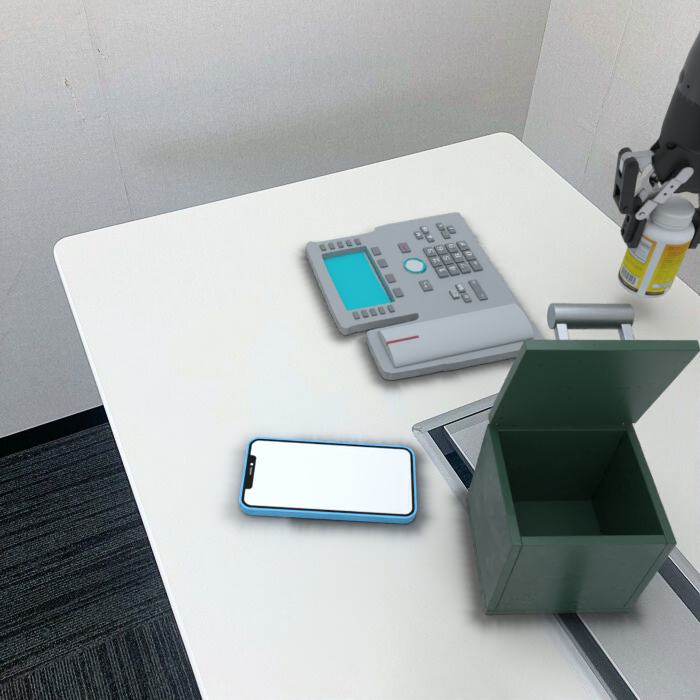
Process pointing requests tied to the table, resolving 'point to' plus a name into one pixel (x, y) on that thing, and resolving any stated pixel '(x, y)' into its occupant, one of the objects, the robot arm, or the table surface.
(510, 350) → the office telephone
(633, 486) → the waste bin
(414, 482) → the smartphone
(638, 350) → the bin lid
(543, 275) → the table surface
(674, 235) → the supplement bottle
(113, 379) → the table surface
